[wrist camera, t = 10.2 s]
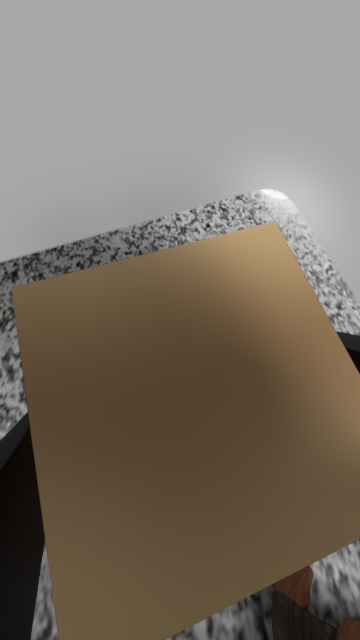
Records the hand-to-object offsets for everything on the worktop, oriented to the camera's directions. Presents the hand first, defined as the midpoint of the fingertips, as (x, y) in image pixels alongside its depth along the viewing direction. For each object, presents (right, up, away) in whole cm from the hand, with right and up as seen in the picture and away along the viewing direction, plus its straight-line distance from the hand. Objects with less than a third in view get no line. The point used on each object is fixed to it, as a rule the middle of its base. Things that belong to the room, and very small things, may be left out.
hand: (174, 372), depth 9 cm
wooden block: (0, -3, +7) cm, 8 cm away
